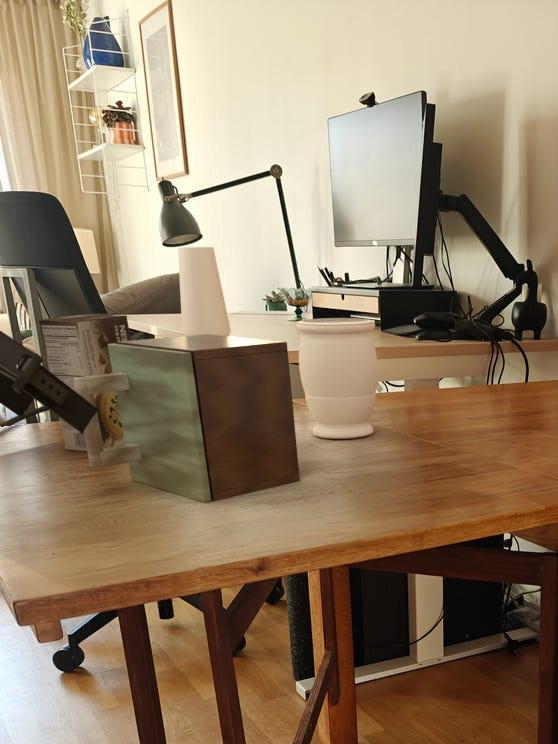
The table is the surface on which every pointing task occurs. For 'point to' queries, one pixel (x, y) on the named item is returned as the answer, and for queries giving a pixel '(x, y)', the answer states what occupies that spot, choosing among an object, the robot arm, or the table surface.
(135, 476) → the cupboard door
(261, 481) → the cupboard
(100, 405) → the coffee box
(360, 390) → the jar
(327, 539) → the table surface
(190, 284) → the white tapered column
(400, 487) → the table surface
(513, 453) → the table surface
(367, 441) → the table surface
